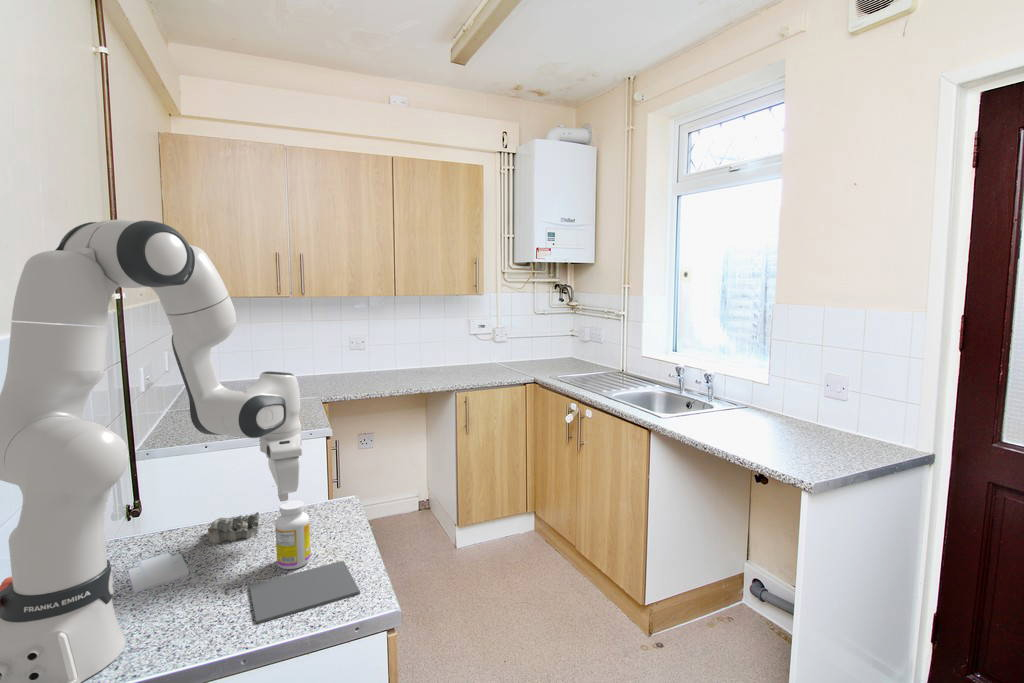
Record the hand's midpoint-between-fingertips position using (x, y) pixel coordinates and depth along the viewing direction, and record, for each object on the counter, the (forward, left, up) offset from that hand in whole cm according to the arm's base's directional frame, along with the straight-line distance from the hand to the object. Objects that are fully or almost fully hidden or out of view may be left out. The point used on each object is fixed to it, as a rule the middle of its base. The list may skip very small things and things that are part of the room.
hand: (283, 499), depth 121 cm
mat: (0, -25, -10) cm, 26 cm away
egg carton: (-10, +8, -10) cm, 16 cm away
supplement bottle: (0, -13, -10) cm, 16 cm away
